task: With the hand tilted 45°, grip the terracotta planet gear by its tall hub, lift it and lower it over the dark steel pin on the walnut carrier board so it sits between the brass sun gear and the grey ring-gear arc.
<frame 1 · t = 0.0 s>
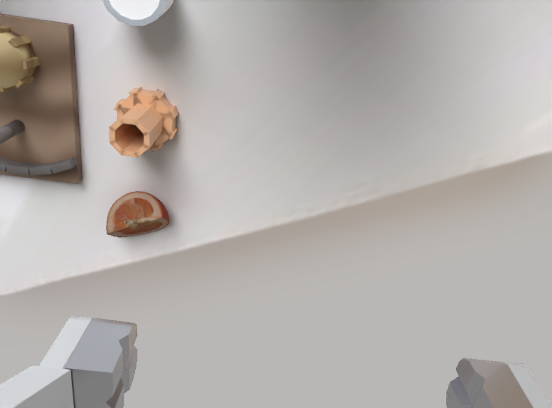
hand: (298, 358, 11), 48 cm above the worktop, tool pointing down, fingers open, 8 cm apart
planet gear: (149, 117, 57), on the worktop
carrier: (21, 100, 56), on the worktop
fruit slice: (144, 206, 63), on the worktop
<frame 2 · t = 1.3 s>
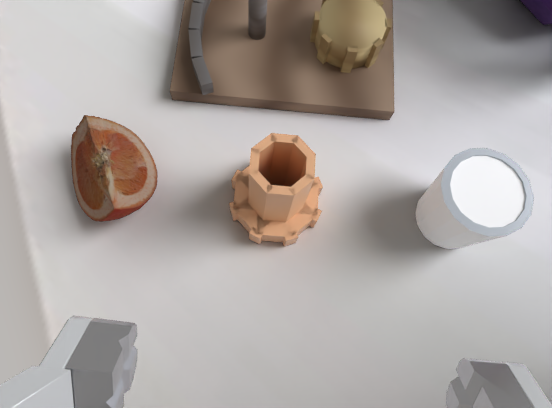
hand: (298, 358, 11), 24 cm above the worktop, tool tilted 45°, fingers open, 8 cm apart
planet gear: (275, 202, 38), on the worktop
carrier: (286, 46, 43), on the worktop
fruit slice: (120, 183, 38), on the worktop
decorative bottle: (545, 1, 47), on the worktop
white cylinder: (446, 218, 39), on the worktop
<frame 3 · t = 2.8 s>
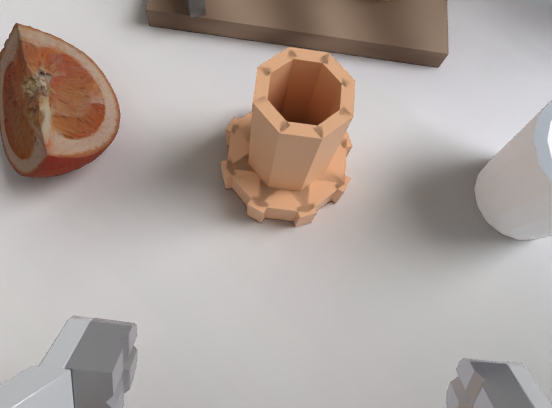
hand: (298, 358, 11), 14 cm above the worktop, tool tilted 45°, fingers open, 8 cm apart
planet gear: (284, 167, 28), on the worktop
fruit slice: (71, 131, 27), on the worktop
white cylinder: (515, 198, 29), on the worktop
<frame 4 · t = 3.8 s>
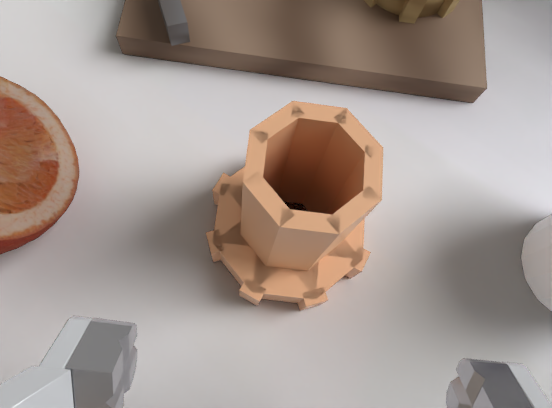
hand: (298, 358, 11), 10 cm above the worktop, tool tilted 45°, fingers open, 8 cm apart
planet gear: (286, 232, 22), on the worktop
fruit slice: (21, 188, 22), on the worktop
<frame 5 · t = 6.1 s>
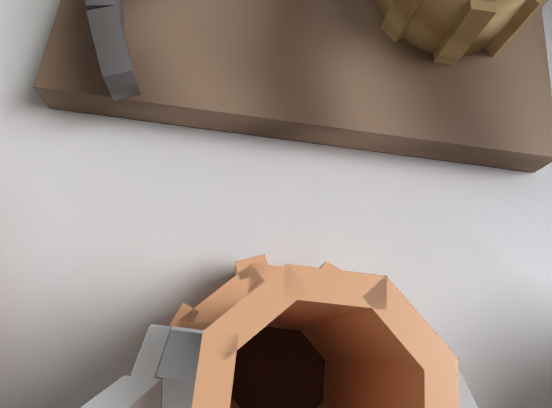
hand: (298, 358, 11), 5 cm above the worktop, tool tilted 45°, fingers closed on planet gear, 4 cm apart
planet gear: (278, 376, 15), on the worktop, touching gripper
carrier: (311, 4, 20), on the worktop
when the fingers open (7 cm above the worktop, at t = 11.6 s): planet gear drops 1 cm, resting on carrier.
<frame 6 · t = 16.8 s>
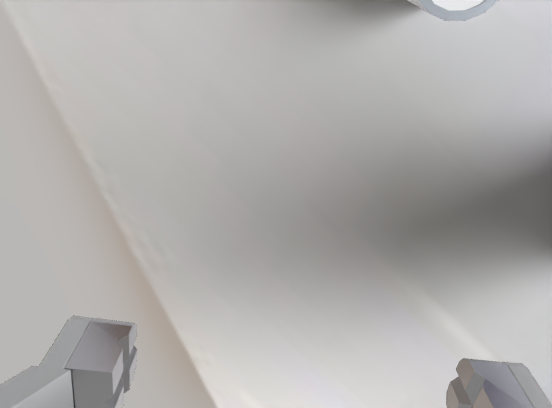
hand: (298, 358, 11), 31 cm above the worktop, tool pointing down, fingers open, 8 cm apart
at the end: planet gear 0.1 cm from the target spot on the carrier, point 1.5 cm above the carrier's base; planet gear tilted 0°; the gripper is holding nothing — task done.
